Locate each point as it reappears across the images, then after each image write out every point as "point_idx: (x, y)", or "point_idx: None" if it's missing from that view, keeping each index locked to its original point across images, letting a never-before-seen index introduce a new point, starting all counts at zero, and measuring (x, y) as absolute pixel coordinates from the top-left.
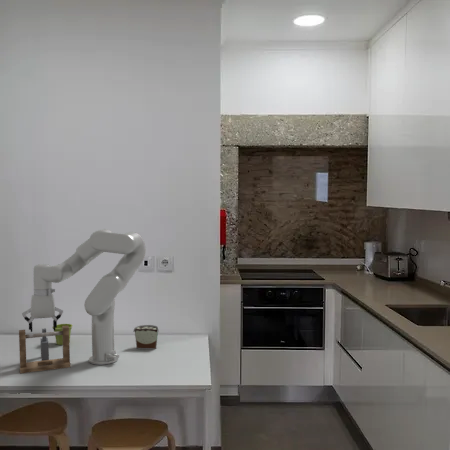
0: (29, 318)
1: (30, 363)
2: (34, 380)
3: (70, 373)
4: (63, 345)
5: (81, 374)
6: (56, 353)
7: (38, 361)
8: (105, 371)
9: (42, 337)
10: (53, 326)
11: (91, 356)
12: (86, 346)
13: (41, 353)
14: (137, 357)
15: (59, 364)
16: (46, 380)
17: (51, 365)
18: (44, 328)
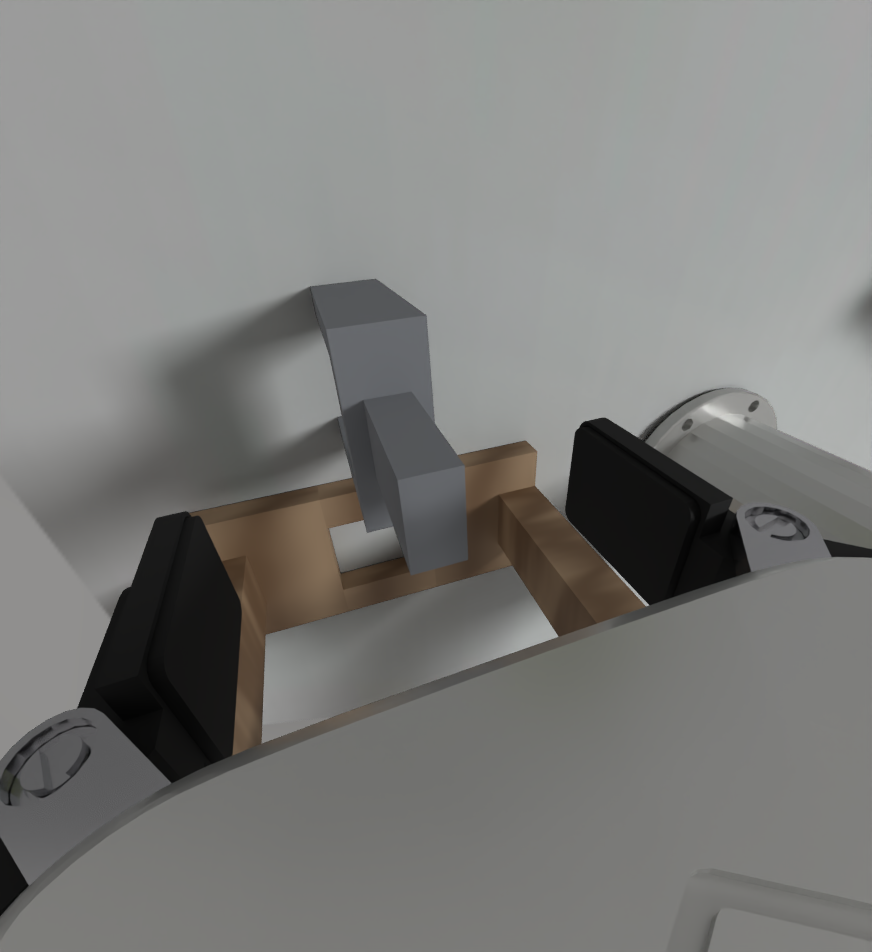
0: (30, 864)
1: (276, 544)
2: (347, 690)
3: (508, 618)
4: (556, 631)
5: (549, 626)
6: (451, 202)
7: (330, 508)
8: (641, 597)
9: (381, 483)
10: (598, 525)
11: (664, 439)
12: (748, 21)
13: (348, 461)
14: (830, 443)
15: (471, 568)
16: (403, 685)
17: (426, 581)
18: (441, 469)
